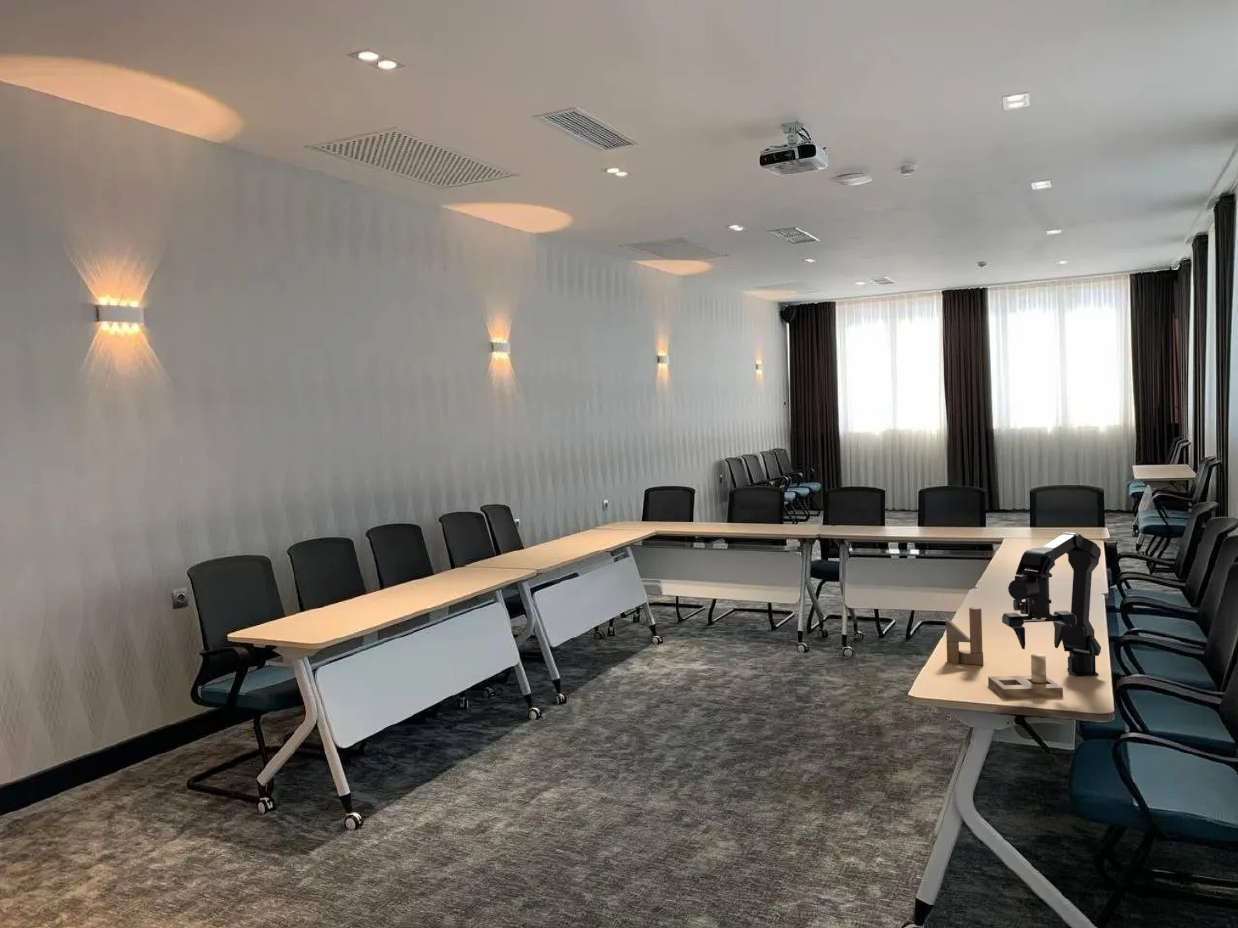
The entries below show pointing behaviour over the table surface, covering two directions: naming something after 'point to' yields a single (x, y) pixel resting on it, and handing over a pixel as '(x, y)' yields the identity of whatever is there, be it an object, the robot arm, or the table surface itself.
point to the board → (1023, 687)
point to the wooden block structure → (965, 640)
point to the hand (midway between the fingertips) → (1039, 648)
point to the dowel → (1038, 669)
